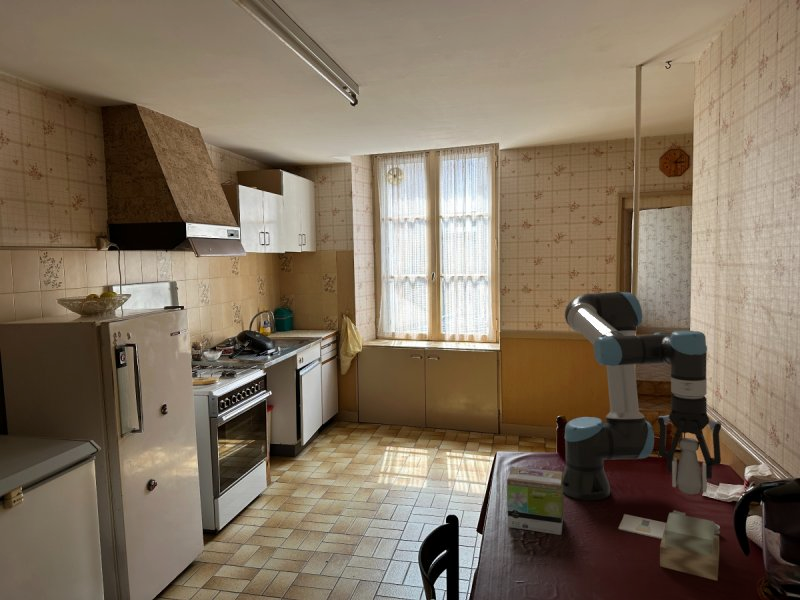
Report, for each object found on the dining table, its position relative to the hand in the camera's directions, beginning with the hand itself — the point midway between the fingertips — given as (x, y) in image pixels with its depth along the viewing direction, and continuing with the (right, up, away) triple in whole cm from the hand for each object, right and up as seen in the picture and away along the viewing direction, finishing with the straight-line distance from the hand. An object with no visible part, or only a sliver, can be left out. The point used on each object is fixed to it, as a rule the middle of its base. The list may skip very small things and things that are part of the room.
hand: (689, 487), depth 127 cm
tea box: (-32, -19, +23) cm, 43 cm away
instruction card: (-3, -18, +18) cm, 25 cm away
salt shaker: (0, -1, 0) cm, 1 cm away
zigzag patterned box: (+1, -19, +1) cm, 19 cm away
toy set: (+11, -18, +16) cm, 26 cm away
